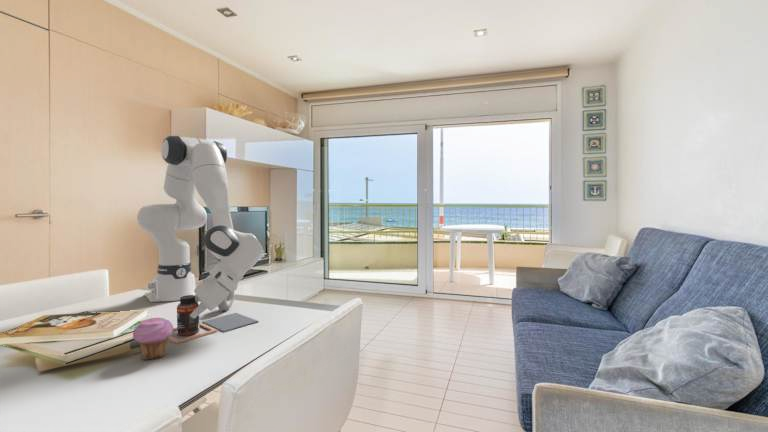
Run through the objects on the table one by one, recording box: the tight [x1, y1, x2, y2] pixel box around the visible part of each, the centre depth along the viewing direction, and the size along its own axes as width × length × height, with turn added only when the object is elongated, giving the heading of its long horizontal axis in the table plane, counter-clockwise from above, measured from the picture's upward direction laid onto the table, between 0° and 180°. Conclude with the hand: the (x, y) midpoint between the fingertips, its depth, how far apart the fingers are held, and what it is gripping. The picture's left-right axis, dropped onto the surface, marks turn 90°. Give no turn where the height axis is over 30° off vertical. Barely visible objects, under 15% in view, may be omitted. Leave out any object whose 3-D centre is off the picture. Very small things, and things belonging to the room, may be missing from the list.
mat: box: [201, 312, 259, 333], centre depth 120 cm, size 14×12×1 cm
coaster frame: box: [168, 321, 219, 344], centre depth 110 cm, size 12×12×1 cm
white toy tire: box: [217, 291, 235, 312], centre depth 133 cm, size 10×4×10 cm, turn 179°
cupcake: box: [132, 317, 174, 361], centre depth 93 cm, size 9×9×10 cm
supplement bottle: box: [176, 295, 200, 337], centre depth 110 cm, size 6×6×11 cm
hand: (189, 312), depth 110 cm, fingers open, 8 cm apart
